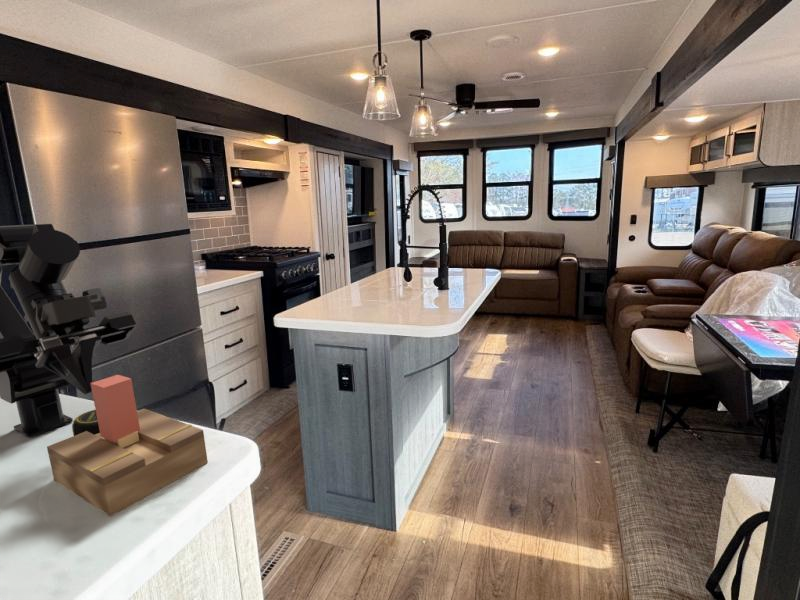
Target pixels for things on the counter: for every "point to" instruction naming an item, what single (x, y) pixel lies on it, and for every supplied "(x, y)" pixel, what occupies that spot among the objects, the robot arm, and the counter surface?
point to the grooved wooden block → (127, 462)
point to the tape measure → (86, 423)
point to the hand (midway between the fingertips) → (88, 392)
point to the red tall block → (116, 410)
